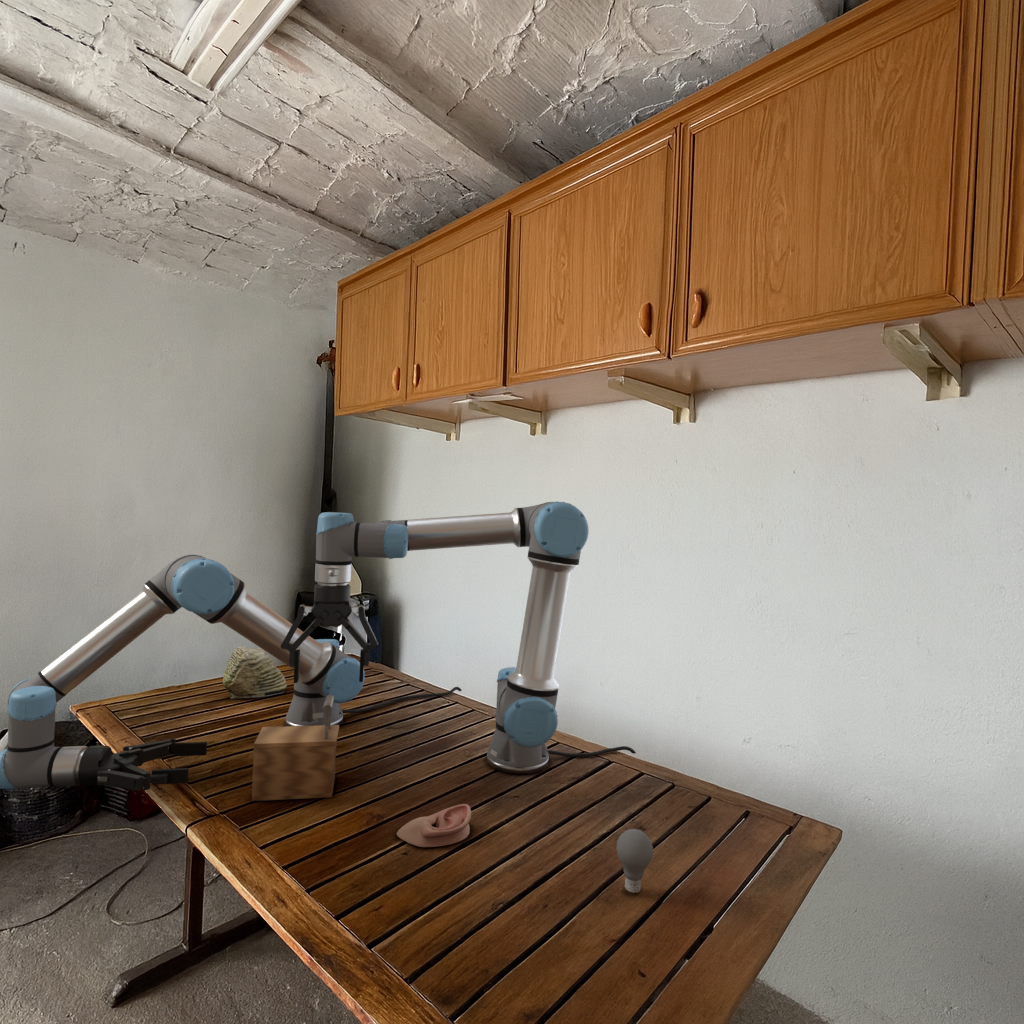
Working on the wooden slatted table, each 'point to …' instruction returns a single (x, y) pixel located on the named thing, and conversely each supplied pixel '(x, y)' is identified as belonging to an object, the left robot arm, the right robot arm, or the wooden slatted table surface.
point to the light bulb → (634, 857)
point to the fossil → (252, 674)
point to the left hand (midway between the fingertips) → (197, 761)
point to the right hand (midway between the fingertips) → (329, 680)
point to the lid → (301, 733)
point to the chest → (293, 772)
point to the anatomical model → (438, 827)
